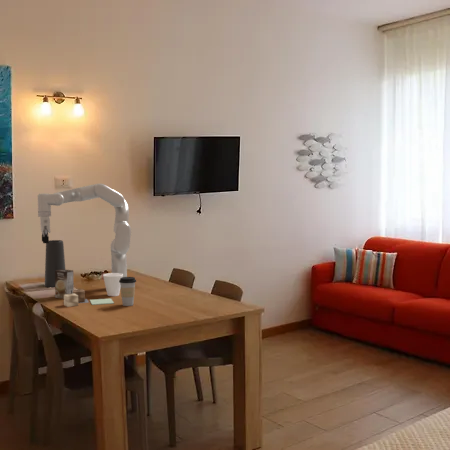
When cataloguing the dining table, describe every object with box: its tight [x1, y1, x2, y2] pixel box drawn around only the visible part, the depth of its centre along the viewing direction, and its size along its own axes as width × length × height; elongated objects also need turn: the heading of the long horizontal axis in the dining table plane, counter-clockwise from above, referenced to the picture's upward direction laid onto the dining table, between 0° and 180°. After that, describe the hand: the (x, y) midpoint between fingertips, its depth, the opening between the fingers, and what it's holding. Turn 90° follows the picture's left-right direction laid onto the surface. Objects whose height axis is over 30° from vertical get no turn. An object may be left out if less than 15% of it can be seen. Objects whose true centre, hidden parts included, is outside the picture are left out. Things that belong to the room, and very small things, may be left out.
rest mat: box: [89, 298, 115, 306], centre depth 341 cm, size 12×12×1 cm
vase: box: [44, 239, 66, 288], centre depth 390 cm, size 14×14×29 cm
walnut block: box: [73, 289, 86, 302], centre depth 343 cm, size 6×6×6 cm
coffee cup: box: [119, 276, 137, 307], centre depth 334 cm, size 9×9×15 cm
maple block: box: [63, 294, 79, 308], centre depth 333 cm, size 6×6×6 cm
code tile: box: [78, 298, 90, 304], centre depth 343 cm, size 10×10×1 cm
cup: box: [102, 272, 123, 297], centre depth 360 cm, size 12×12×12 cm
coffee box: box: [54, 268, 75, 300], centre depth 353 cm, size 9×6×16 cm
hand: (45, 242), depth 366 cm, fingers open, 9 cm apart
